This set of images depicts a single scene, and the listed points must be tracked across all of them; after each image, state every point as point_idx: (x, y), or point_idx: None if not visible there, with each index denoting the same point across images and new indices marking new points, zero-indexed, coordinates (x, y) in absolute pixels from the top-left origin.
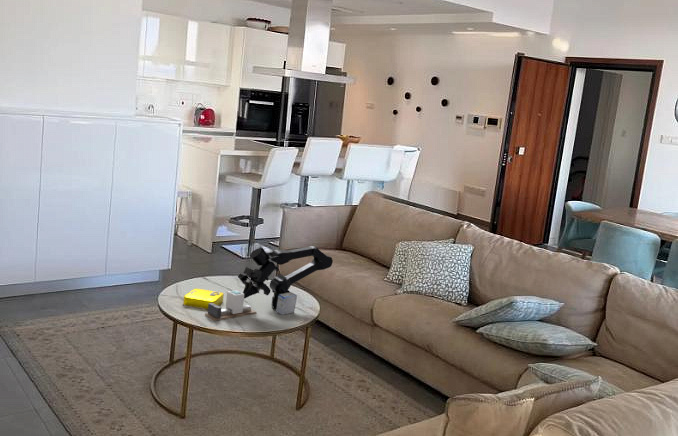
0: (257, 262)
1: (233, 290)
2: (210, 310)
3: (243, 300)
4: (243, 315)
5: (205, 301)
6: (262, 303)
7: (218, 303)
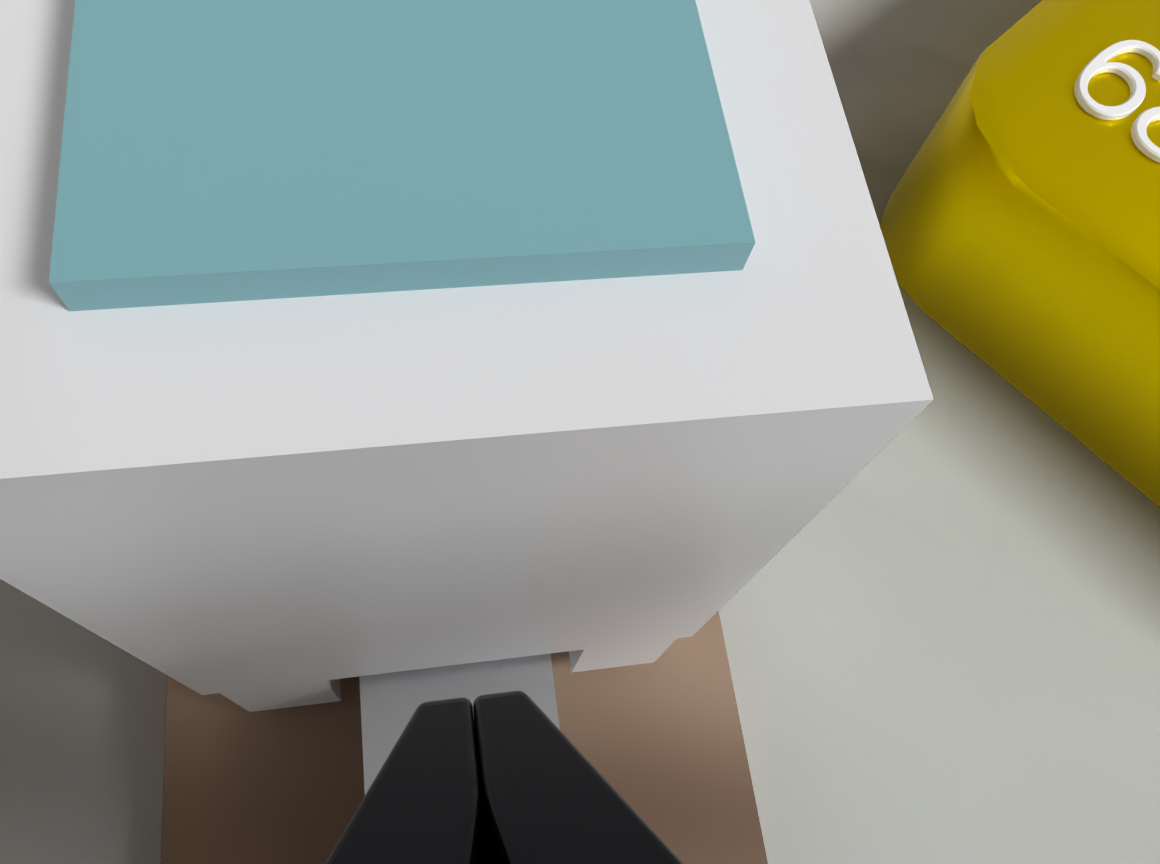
0: None
1: (860, 180)
2: None
3: (77, 606)
4: (176, 722)
5: (1043, 4)
6: None
7: (1146, 435)
